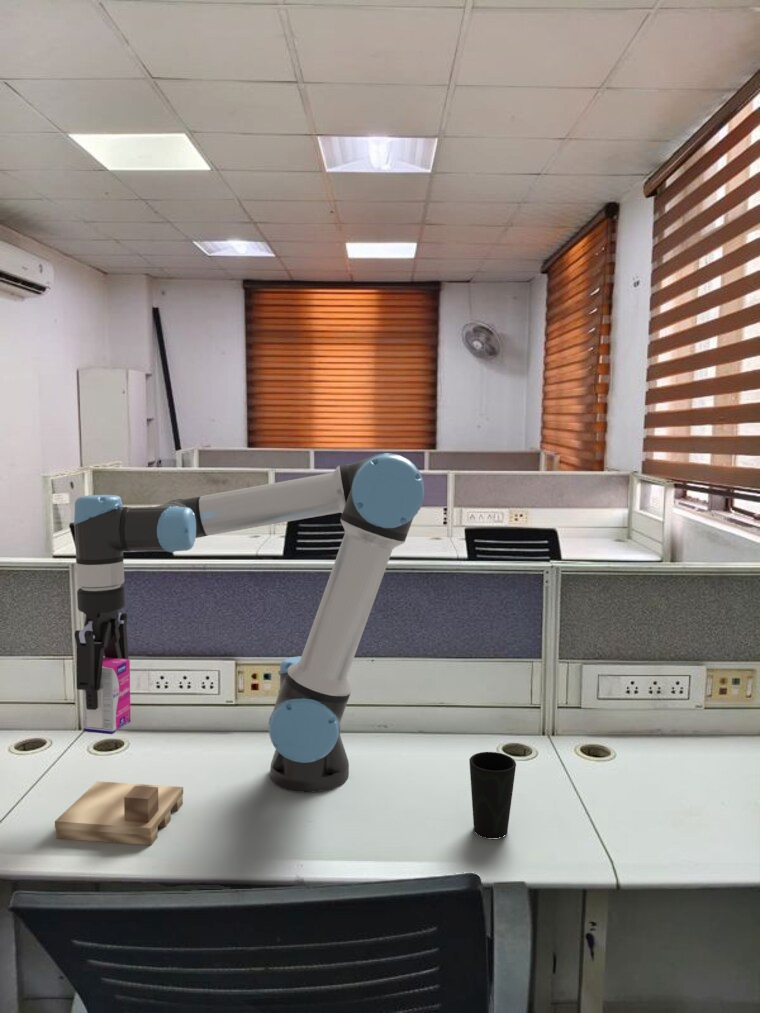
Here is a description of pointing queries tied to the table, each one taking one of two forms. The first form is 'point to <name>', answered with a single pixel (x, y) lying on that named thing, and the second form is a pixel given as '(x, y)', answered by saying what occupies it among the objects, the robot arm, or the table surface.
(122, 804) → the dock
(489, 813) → the cup
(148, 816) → the brown wooden cube
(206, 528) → the robot arm
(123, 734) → the table surface
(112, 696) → the supplement box
